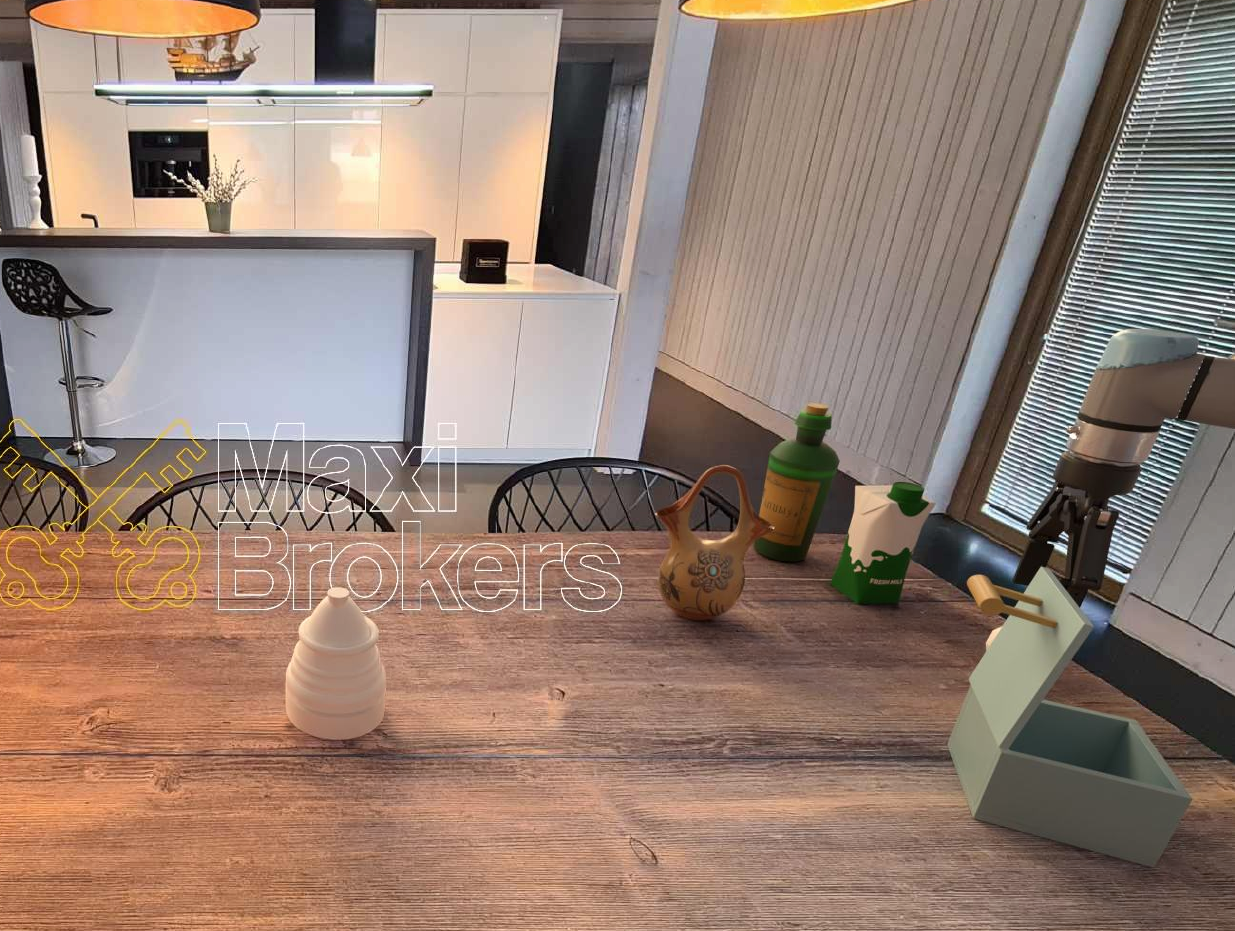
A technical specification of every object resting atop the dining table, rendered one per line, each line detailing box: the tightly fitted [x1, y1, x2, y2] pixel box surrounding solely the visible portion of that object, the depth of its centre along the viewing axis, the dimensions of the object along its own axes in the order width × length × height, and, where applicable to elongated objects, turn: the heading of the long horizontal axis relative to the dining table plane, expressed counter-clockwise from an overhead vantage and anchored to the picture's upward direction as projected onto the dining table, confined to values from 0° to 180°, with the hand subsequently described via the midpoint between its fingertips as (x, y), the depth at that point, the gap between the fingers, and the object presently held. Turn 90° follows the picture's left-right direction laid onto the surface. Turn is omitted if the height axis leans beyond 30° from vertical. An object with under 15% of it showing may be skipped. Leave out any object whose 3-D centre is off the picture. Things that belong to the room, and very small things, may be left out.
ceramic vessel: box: [654, 464, 774, 621], centre depth 122 cm, size 16×9×25 cm, turn 73°
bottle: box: [753, 402, 841, 563], centre depth 143 cm, size 11×11×28 cm
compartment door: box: [966, 567, 1095, 750], centre depth 87 cm, size 16×14×7 cm
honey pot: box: [285, 586, 388, 741], centre depth 101 cm, size 13×13×18 cm
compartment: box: [946, 684, 1193, 869], centre depth 88 cm, size 15×14×9 cm
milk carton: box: [829, 481, 937, 605], centre depth 130 cm, size 9×9×20 cm
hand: (1038, 605), depth 109 cm, fingers open, 13 cm apart
